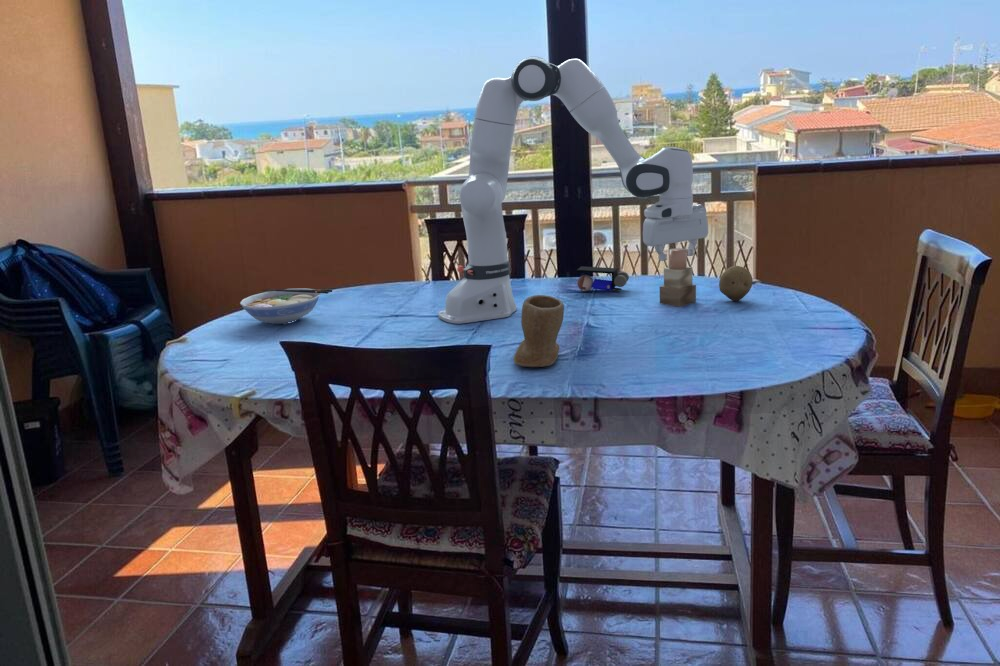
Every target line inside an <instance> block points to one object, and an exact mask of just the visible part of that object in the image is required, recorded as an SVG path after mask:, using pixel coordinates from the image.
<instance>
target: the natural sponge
mask: <svg viewBox="0 0 1000 666" xmlns="http://www.w3.org/2000/svg"><path fill="white" fill-rule="evenodd" d="M753 281H754V279H753V276H752V273H750V271H749V269H747V268H746V267H743V266H742V265H732V266H729V267H728V268H727V269H725V270H724V272H723V273H721V276H720V278H719V282H718V286H719V287H718V288H719V291H720V292H721V294H722V295H724V296H725V297H726V298H727V299H729V300H731V301H733V302H738V301H741V300H742V299H744V298H745V296H747V294H748V293H749V292H750V291H751V288H752V287H753V283H754V282H753Z"/></svg>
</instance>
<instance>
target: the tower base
mask: <svg viewBox="0 0 1000 666" xmlns="http://www.w3.org/2000/svg"><path fill="white" fill-rule="evenodd" d="M696 287H697V284H694V283H692V285H690V286H687V287H683V288H673V287H668V286H664V284H663V285H660V286H659V303H660V304H661V303H662V305H665V306H666V305H667V306H673V307H677V308H681V307H685V306H687V305H690V304H694V303H697V289H696Z"/></svg>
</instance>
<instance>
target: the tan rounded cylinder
mask: <svg viewBox="0 0 1000 666" xmlns="http://www.w3.org/2000/svg"><path fill="white" fill-rule="evenodd" d="M687 249H688V248H682V247H681V248H680V247H679V248H669V249H668V267H669V268H670V269H677V270H678V269H686V268H687V266H688V265H687V264H688V262H687V261H688V259H687V258H688V256H687Z"/></svg>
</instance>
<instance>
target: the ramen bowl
mask: <svg viewBox="0 0 1000 666" xmlns="http://www.w3.org/2000/svg"><path fill="white" fill-rule="evenodd" d="M262 291H265V292H261V293H257V294H253V295H250V296H248V297H247V296H246V297H245V298H243V299H242V300H241V301H240V302H239V304H240V305H241V307H242V308H243V309H244V310H245V312H246V313H247V314H249V315H250V316H251V317H252V318H254V319H255V320H258V321H260V322H264V323H270V324H272V325H274V324H283V325H285V324H284V323H288V322H292V321H295V320H297V319H298V320H299V319H301V318H303V317H304V316H307V315H309V313H311V312H312V311H313V310H314V308H315V307H316V305H317V302H319V301H318V300H319V298H320V294H329V293H333V289H315V288H305V287H304V288H286V289H284V288H283V289H278V288H277V289H274V288H273V289H267V288H266V289H262ZM298 320H297V321H298ZM295 322H296V321H295Z"/></svg>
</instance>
